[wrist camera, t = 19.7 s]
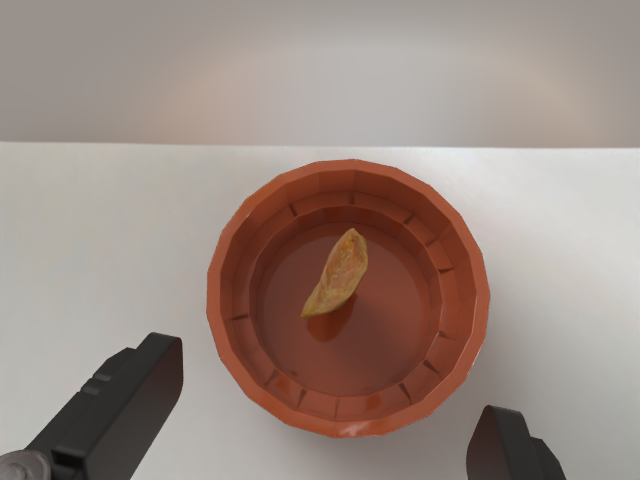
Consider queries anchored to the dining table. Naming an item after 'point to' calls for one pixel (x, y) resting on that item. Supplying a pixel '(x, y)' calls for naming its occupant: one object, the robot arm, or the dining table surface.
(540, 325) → the dining table surface
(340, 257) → the stone tool
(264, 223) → the mixing bowl
